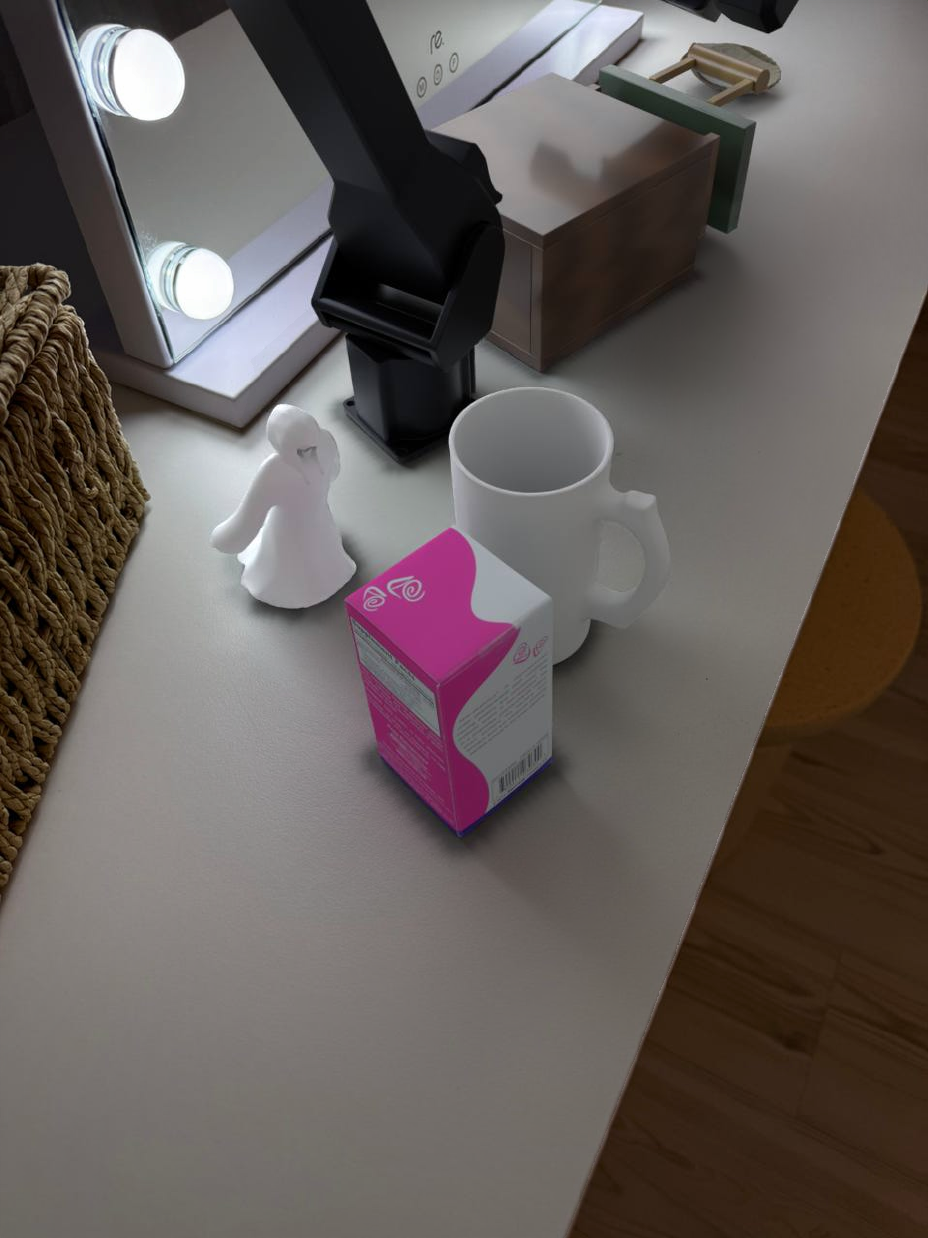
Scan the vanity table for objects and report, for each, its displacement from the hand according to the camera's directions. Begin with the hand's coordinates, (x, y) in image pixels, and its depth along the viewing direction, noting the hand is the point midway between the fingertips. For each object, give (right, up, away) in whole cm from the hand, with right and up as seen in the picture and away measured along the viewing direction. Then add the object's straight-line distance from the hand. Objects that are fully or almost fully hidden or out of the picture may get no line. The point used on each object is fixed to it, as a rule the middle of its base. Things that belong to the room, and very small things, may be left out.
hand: (715, 13), depth 68 cm
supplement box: (-17, -46, -21) cm, 53 cm away
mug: (-12, -41, -16) cm, 45 cm away
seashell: (+6, +5, +19) cm, 21 cm away
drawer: (-5, -11, +5) cm, 13 cm away
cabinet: (-11, -17, +3) cm, 20 cm away
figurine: (-26, -37, -13) cm, 47 cm away
